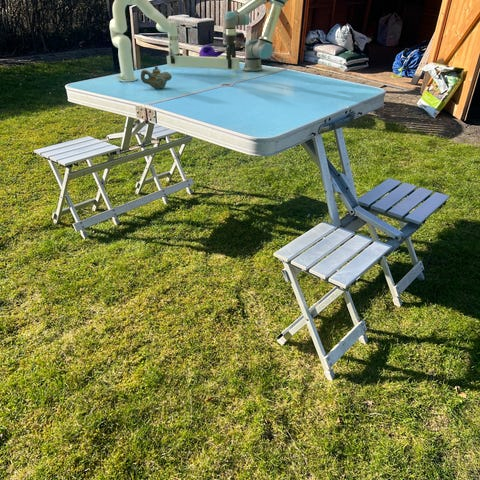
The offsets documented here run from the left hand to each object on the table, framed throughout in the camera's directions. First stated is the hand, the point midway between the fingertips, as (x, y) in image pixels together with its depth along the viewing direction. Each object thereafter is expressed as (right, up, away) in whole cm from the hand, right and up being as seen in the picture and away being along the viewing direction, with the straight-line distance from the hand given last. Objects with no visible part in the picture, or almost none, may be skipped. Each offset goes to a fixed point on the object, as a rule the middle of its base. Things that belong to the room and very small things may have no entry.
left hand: (174, 62), depth 359 cm
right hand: (+46, -10, -15) cm, 49 cm away
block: (+23, -6, -7) cm, 25 cm away
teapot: (-6, -36, -45) cm, 58 cm away
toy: (+27, +12, +36) cm, 47 cm away
